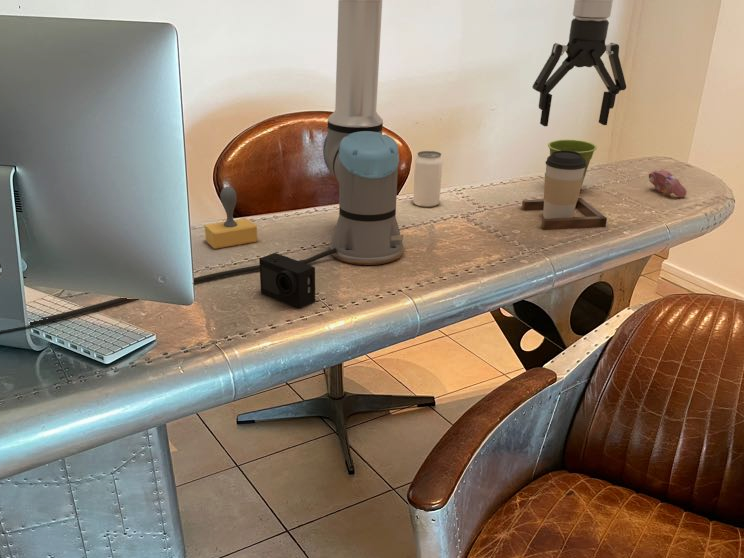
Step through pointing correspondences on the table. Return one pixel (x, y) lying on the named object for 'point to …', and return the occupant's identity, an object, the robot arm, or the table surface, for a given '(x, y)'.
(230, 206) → the rubber stamp
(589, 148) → the plant pot
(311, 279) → the digital camera
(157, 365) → the table surface
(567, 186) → the coffee cup
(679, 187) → the video game controller
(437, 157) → the can
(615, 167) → the table surface
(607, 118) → the robot arm
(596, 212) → the frame
